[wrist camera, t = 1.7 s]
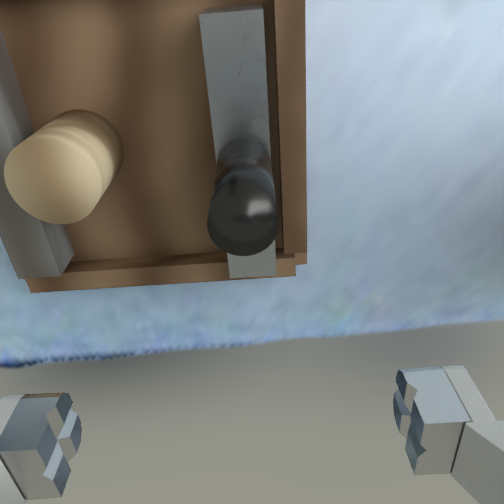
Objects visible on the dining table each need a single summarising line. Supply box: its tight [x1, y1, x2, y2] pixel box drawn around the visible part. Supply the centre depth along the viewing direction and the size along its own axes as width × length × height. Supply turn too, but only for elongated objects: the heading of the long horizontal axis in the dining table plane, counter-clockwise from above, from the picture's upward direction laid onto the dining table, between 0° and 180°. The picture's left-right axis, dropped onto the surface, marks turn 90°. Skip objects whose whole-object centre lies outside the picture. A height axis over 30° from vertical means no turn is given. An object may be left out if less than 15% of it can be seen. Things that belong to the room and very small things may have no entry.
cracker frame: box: [0, 0, 307, 293], centre depth 28 cm, size 22×21×4 cm
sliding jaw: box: [199, 4, 279, 278], centre depth 24 cm, size 3×15×12 cm, turn 4°
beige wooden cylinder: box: [4, 109, 124, 224], centre depth 27 cm, size 5×5×6 cm
